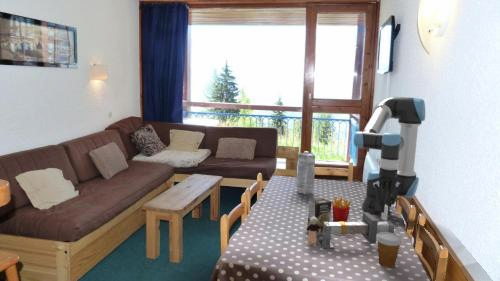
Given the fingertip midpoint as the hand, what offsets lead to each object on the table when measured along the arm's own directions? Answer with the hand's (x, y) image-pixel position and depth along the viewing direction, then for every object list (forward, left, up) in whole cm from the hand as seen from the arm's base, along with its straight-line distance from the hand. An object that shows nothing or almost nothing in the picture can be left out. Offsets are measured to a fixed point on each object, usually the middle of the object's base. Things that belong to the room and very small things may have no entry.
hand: (384, 219), depth 178 cm
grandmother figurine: (+32, -2, -12) cm, 34 cm away
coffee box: (+26, -14, -12) cm, 32 cm away
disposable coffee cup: (+7, +19, -12) cm, 24 cm away
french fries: (+12, -23, -12) cm, 28 cm away
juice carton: (+16, -80, -12) cm, 82 cm away
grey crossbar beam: (+12, 0, -12) cm, 17 cm away
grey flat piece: (+7, 0, -9) cm, 11 cm away
